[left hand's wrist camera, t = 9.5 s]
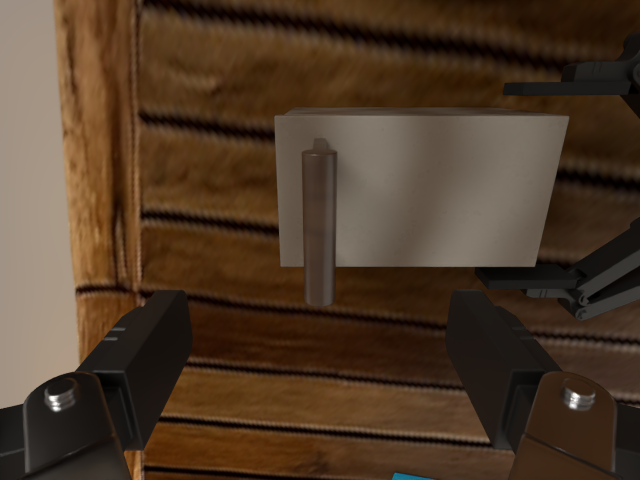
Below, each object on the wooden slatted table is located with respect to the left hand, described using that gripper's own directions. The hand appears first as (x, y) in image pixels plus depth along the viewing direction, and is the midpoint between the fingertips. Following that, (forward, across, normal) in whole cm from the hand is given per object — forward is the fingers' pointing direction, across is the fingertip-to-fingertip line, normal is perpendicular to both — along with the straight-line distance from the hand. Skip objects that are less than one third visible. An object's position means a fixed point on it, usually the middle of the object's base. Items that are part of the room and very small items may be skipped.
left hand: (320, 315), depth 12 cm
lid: (+14, +6, 0) cm, 16 cm away
